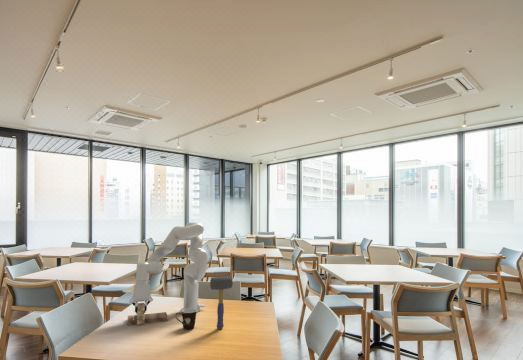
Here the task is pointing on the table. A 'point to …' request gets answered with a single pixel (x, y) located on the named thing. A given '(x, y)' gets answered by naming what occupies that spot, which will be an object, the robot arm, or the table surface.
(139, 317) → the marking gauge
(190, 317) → the coffee mug
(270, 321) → the table surface
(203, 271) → the robot arm
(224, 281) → the rubber mallet
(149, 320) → the walnut board
